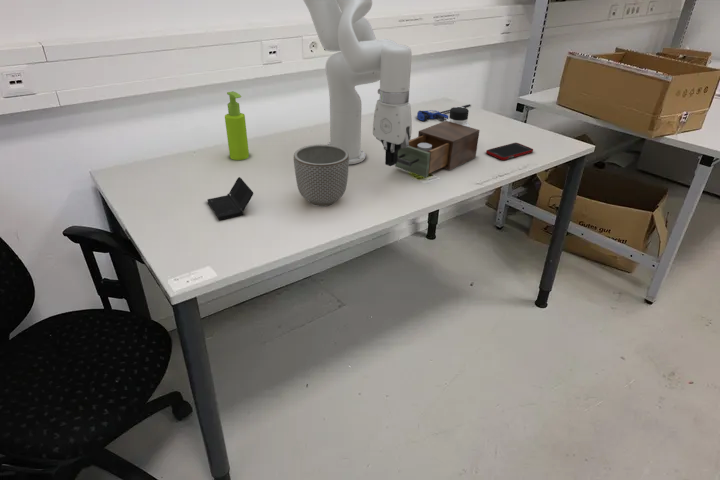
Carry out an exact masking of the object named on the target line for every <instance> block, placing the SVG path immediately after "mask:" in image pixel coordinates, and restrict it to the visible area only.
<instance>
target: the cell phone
mask: <svg viewBox="0 0 720 480" xmlns="http://www.w3.org/2000/svg"><path fill="white" fill-rule="evenodd" d="M533 152H534V148H532V147H529V146H527V145H524V144H522V143H519V142H511V143H508V144H505V145H500V146H496V147H493V148H489V149H486V152H485V154H487V155H489V156H491V157H494V158H496V159H499V160H501V161H505V160H508V159H513V158H517V157H520V156H524V155H527V154H531V153H533Z"/></svg>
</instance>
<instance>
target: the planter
mask: <svg viewBox="0 0 720 480" xmlns="http://www.w3.org/2000/svg"><path fill="white" fill-rule="evenodd" d="M349 166H350V164H349V154H348V152H347V151H346V150H345V149H343V148H341V147H338V146H334V145H327V144H323V143H322V144H321V143H319V144H311V145H306V146H302V147H300V148H298V149H296V150H295V152H294V153H293V167H294V175H295V180H296V186H297V189H298V192H299V194H300V195H301V197H302V198H304V199H305V200H307V201H308V202H309V203H310V204H311V205H313V206H316V207H328V206H331V205H333V204H335V203H336V201H338V200H339V199H340V198H341V197H342V196H343V195H344V194H345V192H346V190H347V186H348V178H349Z"/></svg>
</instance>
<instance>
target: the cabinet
mask: <svg viewBox="0 0 720 480" xmlns="http://www.w3.org/2000/svg"><path fill="white" fill-rule="evenodd" d="M480 131H481V130H480V129H477V128H475V127H471V126H470V127H467V126H463V125H460V124H456V123H453V122H449V121H446V120H443V121H442V122H439V123H436V124H434V125H430V126H428V127H426V128H423V129H419V130H418V134H417V137H419V136H422V135H425V136H429V137H432V138H435V139H438V140H442V141H445V142H448V143H451V144H450V152H449V160H448V165H446V166H444V167H442V168H441V169H444V170H446V171H447V170H448V171H451V170H453V169H455V168H457V167H459V166H461V165H463V164H466V163H467V162H469V161H472V160H474V159H475V158H476V157H477V150H478V143H479V137H480Z"/></svg>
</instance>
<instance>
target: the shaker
mask: <svg viewBox="0 0 720 480" xmlns="http://www.w3.org/2000/svg"><path fill="white" fill-rule="evenodd" d="M417 149H420V150H423V151H427V152H429V151H430V150H432V145H431V144H429V143H419V144H418V145H417Z"/></svg>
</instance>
